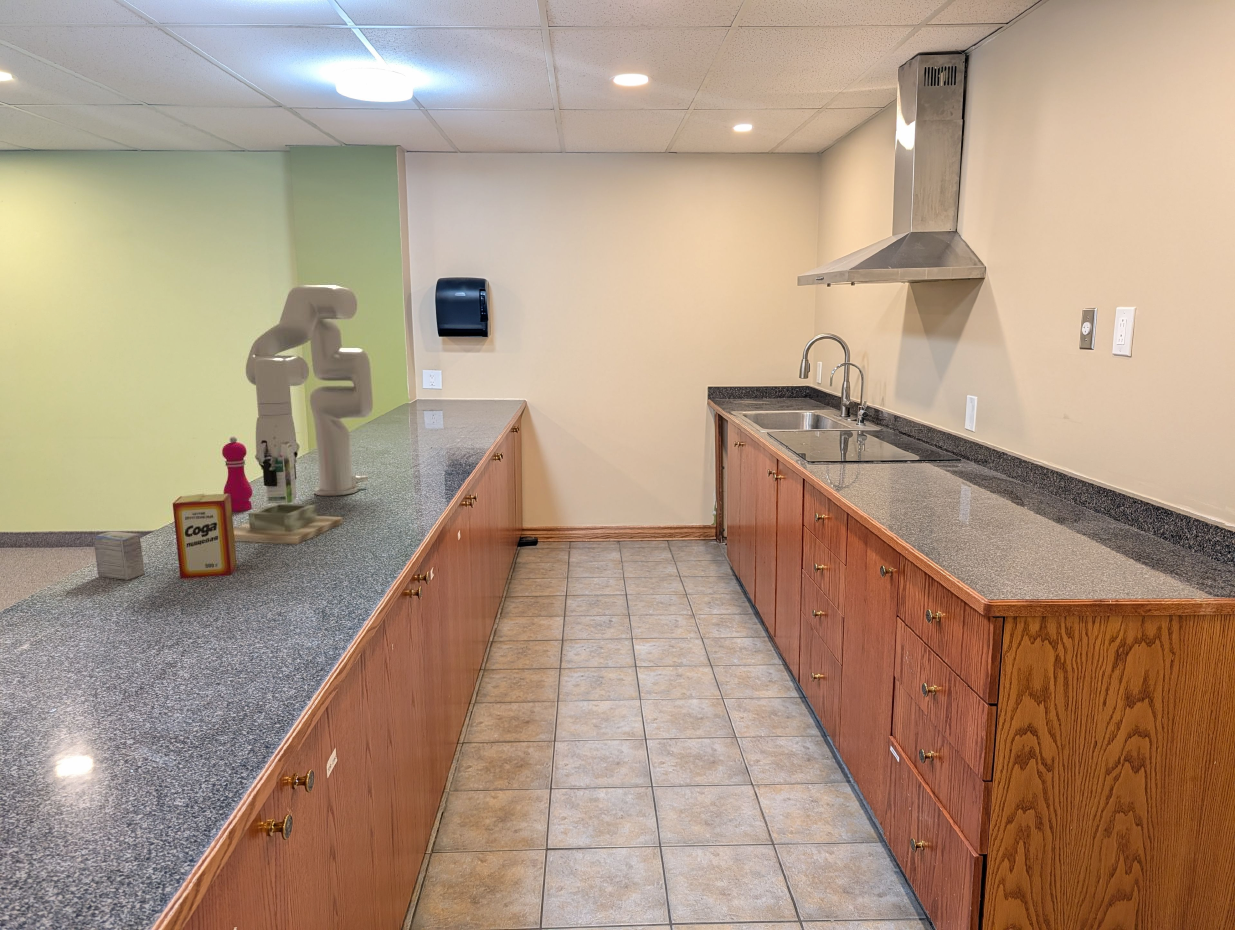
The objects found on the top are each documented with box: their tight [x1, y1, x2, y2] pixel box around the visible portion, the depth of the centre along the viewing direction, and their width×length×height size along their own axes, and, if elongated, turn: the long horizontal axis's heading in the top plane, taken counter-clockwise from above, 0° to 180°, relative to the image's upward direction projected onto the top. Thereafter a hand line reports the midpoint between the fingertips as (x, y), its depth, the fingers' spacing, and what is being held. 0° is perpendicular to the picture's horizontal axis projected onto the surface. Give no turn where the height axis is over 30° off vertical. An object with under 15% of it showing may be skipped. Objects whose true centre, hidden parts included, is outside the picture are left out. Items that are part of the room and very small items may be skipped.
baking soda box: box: [172, 493, 238, 580], centre depth 171 cm, size 10×6×16 cm
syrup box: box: [265, 442, 298, 505], centre depth 202 cm, size 6×6×14 cm
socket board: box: [233, 503, 344, 545], centre depth 204 cm, size 20×20×6 cm
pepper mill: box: [221, 436, 253, 512], centre depth 226 cm, size 7×7×20 cm
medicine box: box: [92, 530, 145, 581], centre depth 170 cm, size 8×4×9 cm, turn 71°
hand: (280, 482), depth 203 cm, fingers closed on syrup box, 7 cm apart
